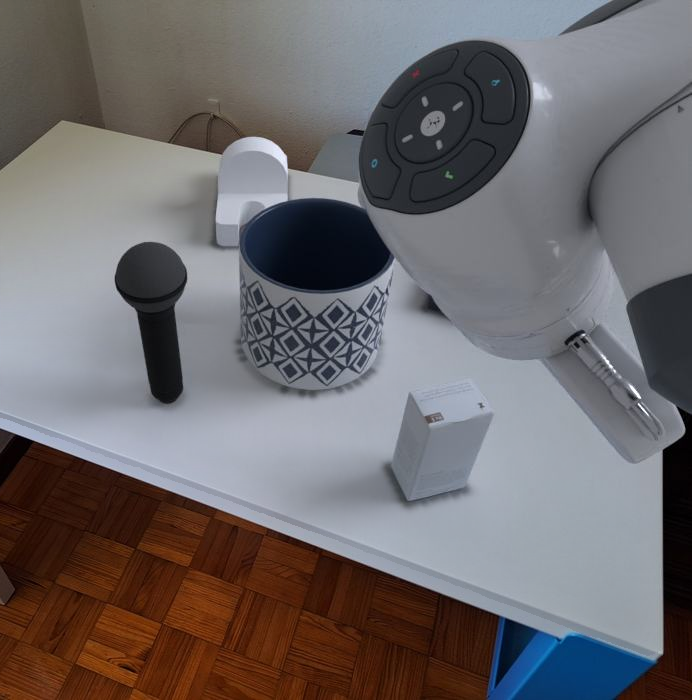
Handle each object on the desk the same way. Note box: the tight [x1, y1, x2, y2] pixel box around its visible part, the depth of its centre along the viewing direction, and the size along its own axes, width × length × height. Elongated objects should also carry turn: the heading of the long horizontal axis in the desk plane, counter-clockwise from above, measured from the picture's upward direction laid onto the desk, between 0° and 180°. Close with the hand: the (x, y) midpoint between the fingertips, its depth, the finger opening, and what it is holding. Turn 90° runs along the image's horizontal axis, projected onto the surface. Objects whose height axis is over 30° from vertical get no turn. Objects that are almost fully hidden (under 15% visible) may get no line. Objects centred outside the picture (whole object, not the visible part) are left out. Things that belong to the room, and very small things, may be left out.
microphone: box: [114, 241, 188, 405], centre depth 67 cm, size 7×7×20 cm
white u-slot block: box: [215, 136, 289, 247], centre depth 95 cm, size 10×18×10 cm, turn 177°
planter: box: [238, 197, 396, 391], centre depth 74 cm, size 16×16×14 cm
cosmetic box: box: [390, 377, 495, 502], centre depth 62 cm, size 6×4×12 cm
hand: (561, 348), depth 49 cm, fingers open, 8 cm apart
